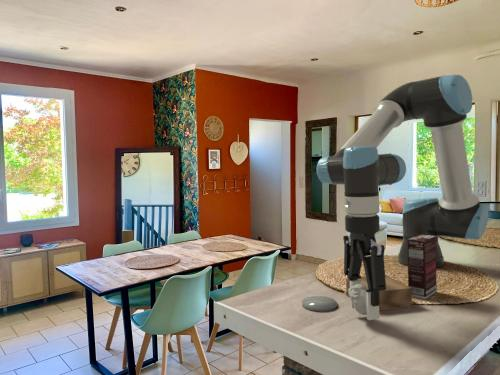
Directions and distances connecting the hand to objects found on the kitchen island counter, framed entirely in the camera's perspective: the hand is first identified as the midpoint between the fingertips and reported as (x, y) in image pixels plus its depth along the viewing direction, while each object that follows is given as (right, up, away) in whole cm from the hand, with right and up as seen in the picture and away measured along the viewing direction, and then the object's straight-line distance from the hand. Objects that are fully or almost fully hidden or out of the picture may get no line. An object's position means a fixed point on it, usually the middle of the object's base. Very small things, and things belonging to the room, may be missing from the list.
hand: (364, 312), depth 88 cm
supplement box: (+21, -1, +17) cm, 27 cm away
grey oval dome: (-8, -2, +11) cm, 14 cm away
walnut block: (+7, -1, +13) cm, 15 cm away
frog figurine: (0, -1, 0) cm, 1 cm away
